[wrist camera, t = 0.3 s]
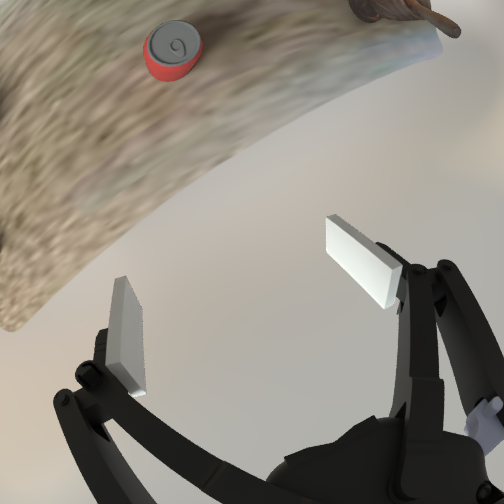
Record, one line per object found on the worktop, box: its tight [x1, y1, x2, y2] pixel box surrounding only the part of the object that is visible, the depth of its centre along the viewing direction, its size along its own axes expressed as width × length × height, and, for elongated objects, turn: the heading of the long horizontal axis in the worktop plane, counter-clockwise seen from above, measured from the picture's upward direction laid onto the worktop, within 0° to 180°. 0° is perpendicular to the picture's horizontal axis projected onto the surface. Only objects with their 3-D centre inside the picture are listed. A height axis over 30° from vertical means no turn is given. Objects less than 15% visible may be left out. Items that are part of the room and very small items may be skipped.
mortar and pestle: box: [349, 0, 461, 38], centre depth 25 cm, size 12×9×20 cm
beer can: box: [143, 20, 203, 82], centre depth 26 cm, size 7×7×12 cm
